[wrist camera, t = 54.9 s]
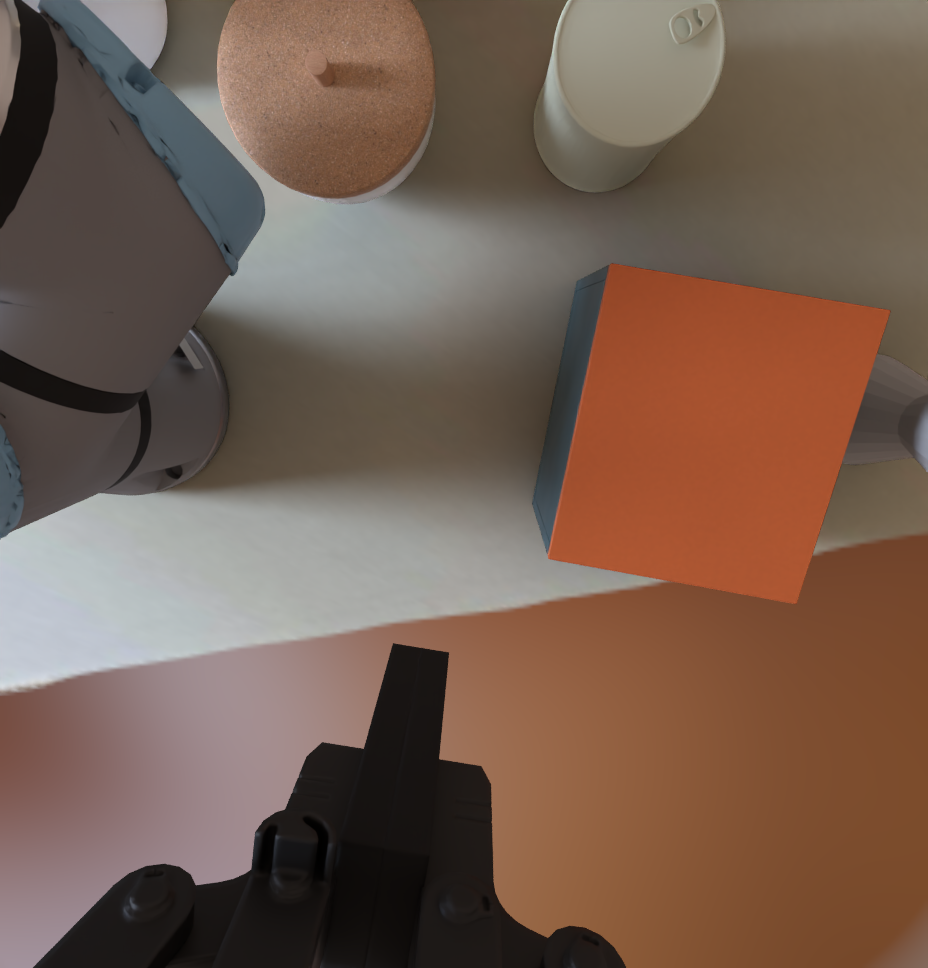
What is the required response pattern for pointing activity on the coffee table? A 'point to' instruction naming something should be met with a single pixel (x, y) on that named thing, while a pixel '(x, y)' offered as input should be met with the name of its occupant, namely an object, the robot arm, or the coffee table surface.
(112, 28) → the wine bottle
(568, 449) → the container
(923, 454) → the lava lamp
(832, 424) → the lid
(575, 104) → the can
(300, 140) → the lidded bowl
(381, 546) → the coffee table surface
